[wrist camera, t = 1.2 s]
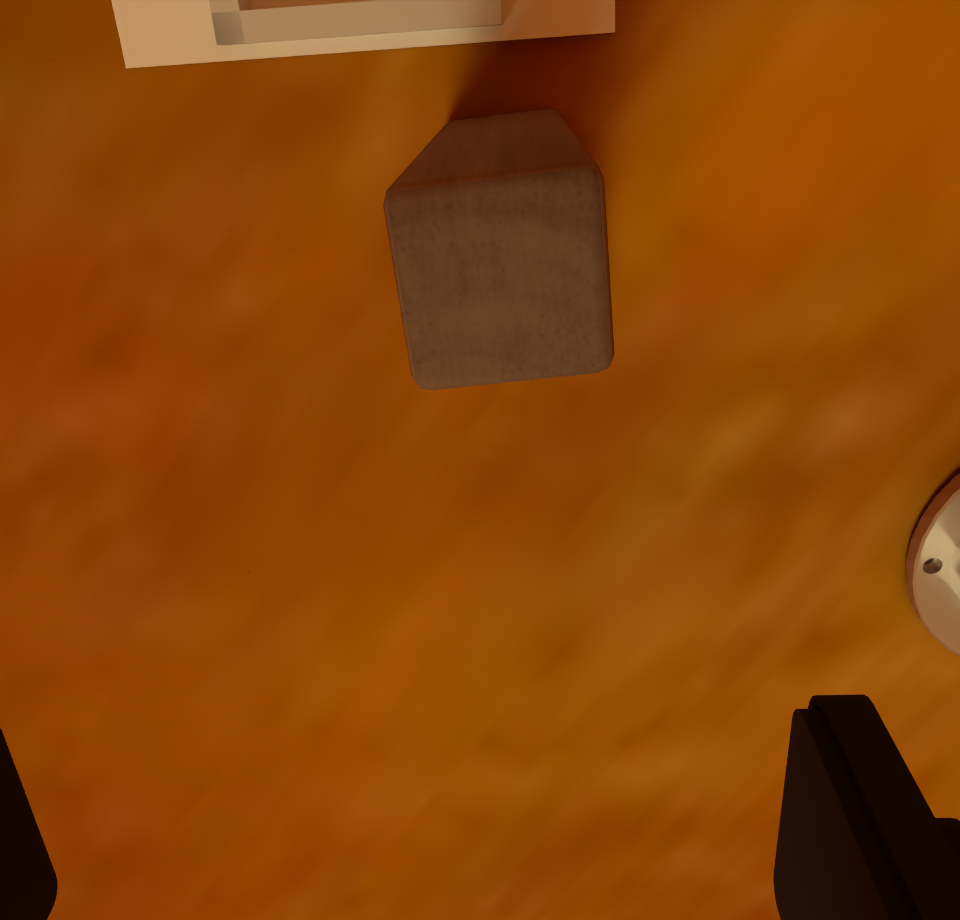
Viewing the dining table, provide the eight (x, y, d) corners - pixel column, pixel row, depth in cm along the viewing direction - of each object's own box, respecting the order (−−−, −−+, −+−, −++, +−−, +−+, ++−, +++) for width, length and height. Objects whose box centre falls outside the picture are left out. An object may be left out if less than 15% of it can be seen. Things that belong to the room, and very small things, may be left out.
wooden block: (576, 332, 37) (627, 554, 21) (471, 343, 37) (440, 571, 21) (559, 106, 33) (605, 160, 17) (442, 121, 33) (377, 188, 17)
